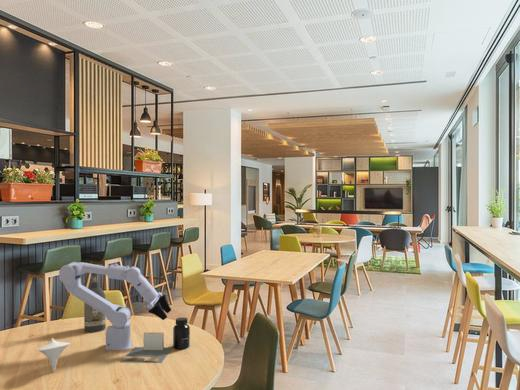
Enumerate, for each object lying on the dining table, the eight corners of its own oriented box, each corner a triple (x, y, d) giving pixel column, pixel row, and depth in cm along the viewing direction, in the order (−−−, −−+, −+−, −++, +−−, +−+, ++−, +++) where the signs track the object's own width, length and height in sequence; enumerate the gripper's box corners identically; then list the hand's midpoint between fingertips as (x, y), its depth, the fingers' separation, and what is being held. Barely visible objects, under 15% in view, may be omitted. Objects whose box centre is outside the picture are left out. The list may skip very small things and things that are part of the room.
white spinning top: (33, 372, 147) (33, 338, 147) (64, 363, 155) (64, 331, 155) (42, 381, 140) (42, 346, 140) (74, 371, 147) (74, 338, 147)
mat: (119, 363, 154) (119, 362, 154) (134, 348, 170) (134, 347, 170) (161, 363, 153) (161, 362, 153) (172, 348, 169) (172, 347, 169)
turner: (120, 361, 155) (120, 359, 155) (124, 358, 158) (124, 355, 158) (156, 362, 154) (156, 359, 154) (159, 358, 158) (159, 355, 158)
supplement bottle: (186, 351, 166) (185, 321, 166) (170, 350, 168) (170, 320, 168) (192, 345, 173) (192, 316, 173) (177, 344, 174) (177, 316, 174)
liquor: (84, 327, 198) (84, 266, 198) (104, 325, 201) (104, 264, 202) (84, 333, 189) (84, 268, 190) (105, 330, 193) (105, 267, 193)
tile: (143, 350, 166) (143, 333, 166) (144, 349, 168) (144, 332, 168) (162, 350, 166) (162, 333, 166) (163, 349, 167) (163, 332, 167)
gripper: (149, 290, 165) (170, 315, 166) (158, 280, 180) (178, 303, 180) (135, 301, 166) (157, 326, 167) (146, 289, 180) (166, 313, 181)
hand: (167, 315), depth 174 cm, fingers open, 7 cm apart
